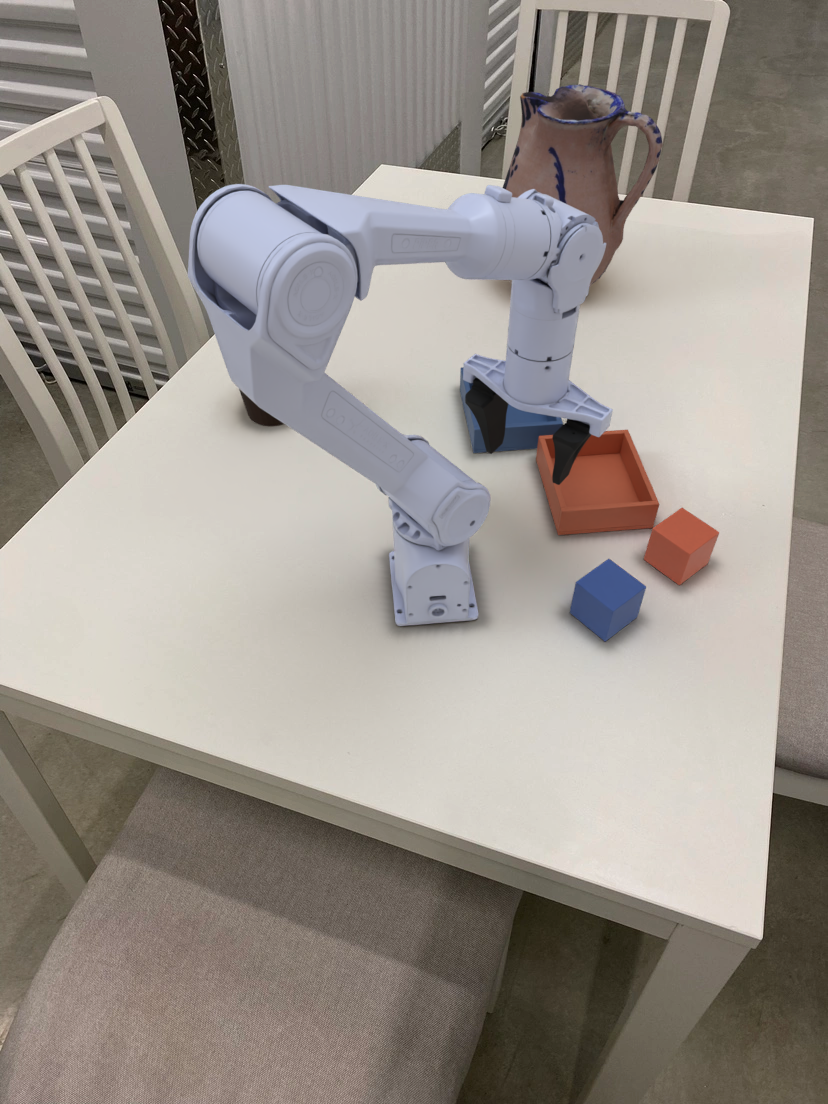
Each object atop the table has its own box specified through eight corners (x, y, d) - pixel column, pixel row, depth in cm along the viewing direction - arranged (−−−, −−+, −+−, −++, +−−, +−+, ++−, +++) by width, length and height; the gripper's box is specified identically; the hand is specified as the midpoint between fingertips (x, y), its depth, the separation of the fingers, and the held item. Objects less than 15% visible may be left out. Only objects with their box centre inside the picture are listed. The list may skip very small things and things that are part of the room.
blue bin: (559, 447, 96) (563, 423, 93) (473, 453, 95) (474, 429, 92) (539, 385, 104) (542, 361, 101) (459, 390, 103) (460, 367, 101)
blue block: (637, 617, 78) (646, 586, 75) (605, 642, 76) (613, 611, 73) (601, 589, 81) (608, 558, 77) (569, 612, 79) (575, 581, 76)
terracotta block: (708, 563, 83) (720, 532, 80) (679, 585, 81) (690, 554, 78) (671, 538, 85) (681, 506, 82) (643, 559, 83) (652, 528, 80)
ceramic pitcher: (506, 246, 128) (519, 70, 110) (642, 267, 123) (679, 86, 105) (475, 303, 117) (483, 117, 99) (622, 328, 112) (660, 137, 94)
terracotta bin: (653, 528, 86) (659, 504, 84) (557, 535, 86) (561, 511, 83) (622, 452, 95) (627, 429, 92) (535, 459, 94) (538, 435, 92)
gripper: (638, 349, 69) (612, 469, 79) (495, 297, 75) (488, 414, 85) (598, 390, 66) (576, 510, 76) (451, 331, 72) (448, 450, 82)
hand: (526, 462), depth 80 cm, fingers open, 7 cm apart
